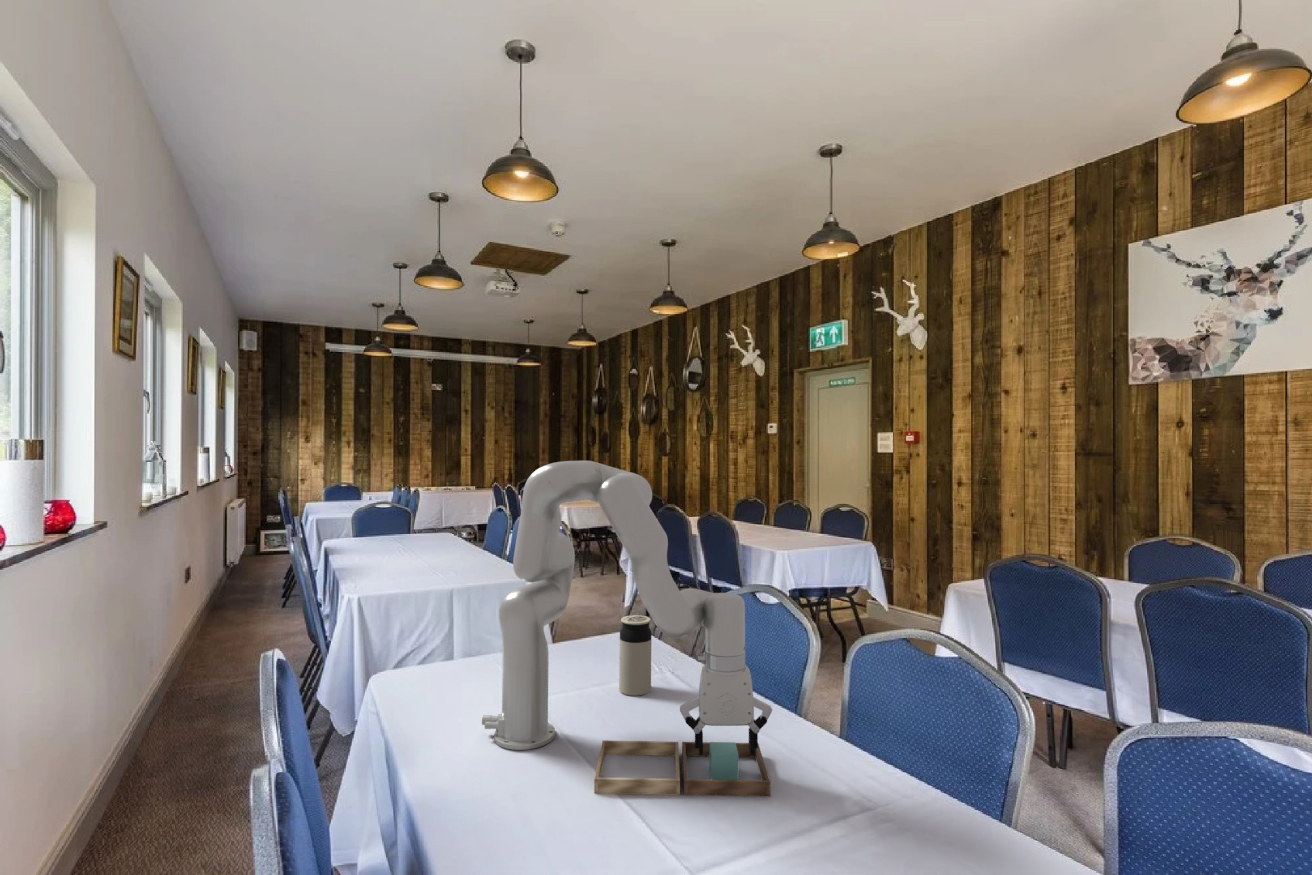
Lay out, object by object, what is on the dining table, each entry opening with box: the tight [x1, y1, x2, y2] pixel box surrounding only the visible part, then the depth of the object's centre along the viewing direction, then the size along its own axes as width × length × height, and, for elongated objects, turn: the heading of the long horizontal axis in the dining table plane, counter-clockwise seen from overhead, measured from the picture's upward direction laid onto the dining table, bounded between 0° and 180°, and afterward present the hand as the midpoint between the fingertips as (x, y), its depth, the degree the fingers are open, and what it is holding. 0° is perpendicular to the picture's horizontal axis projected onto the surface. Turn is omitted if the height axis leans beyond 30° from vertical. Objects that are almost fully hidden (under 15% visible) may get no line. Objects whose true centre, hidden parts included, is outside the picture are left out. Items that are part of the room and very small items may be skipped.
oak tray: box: [593, 739, 681, 796], centre depth 125 cm, size 15×15×2 cm
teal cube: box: [708, 741, 739, 780], centre depth 124 cm, size 5×5×5 cm
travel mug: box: [618, 614, 652, 697], centre depth 166 cm, size 8×8×18 cm
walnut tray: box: [681, 741, 771, 797], centre depth 124 cm, size 15×15×2 cm
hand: (726, 751), depth 124 cm, fingers open, 9 cm apart
